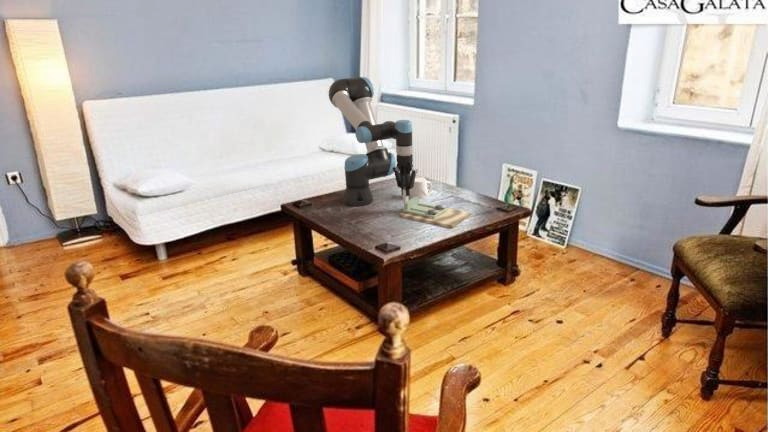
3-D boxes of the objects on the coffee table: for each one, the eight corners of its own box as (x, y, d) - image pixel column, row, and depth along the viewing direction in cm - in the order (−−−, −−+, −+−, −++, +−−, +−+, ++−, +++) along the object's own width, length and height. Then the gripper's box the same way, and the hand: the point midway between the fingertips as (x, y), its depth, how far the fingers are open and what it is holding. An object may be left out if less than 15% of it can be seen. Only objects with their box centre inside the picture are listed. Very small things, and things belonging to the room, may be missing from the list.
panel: (403, 211, 237) (402, 203, 236) (416, 203, 246) (416, 196, 245) (434, 218, 228) (434, 210, 226) (447, 209, 237) (447, 202, 235)
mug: (411, 182, 252) (407, 178, 259) (412, 200, 256) (407, 195, 263) (434, 180, 255) (429, 175, 262) (434, 197, 258) (429, 192, 266)
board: (399, 216, 236) (399, 209, 234) (419, 204, 249) (419, 197, 248) (452, 228, 220) (452, 220, 219) (471, 215, 234) (471, 207, 232)
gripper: (388, 154, 234) (390, 201, 243) (411, 157, 227) (413, 206, 235) (397, 150, 240) (399, 197, 248) (420, 153, 232) (421, 201, 241)
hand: (405, 201), depth 242 cm, fingers closed
